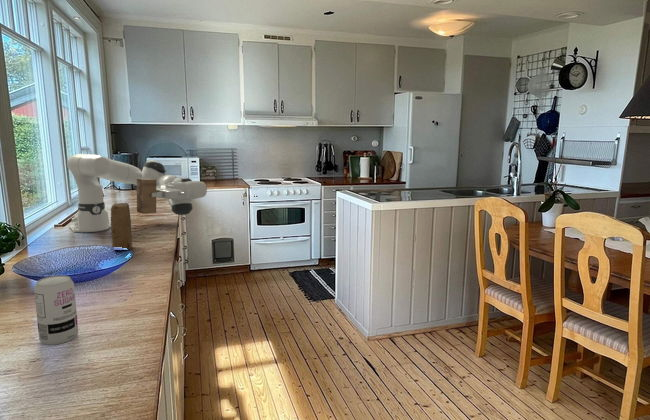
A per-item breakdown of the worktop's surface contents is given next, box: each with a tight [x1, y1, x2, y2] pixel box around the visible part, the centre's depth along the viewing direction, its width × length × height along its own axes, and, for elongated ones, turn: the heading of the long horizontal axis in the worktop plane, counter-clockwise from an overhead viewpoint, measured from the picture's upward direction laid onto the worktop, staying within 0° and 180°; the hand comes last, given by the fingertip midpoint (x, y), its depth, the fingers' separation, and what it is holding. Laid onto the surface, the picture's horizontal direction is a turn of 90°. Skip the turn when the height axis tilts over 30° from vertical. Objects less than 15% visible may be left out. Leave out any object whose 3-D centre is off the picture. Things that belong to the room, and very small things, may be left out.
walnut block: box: [136, 178, 157, 215], centre depth 188 cm, size 6×6×15 cm
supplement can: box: [33, 275, 79, 346], centre depth 103 cm, size 8×8×15 cm
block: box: [110, 202, 133, 250], centre depth 183 cm, size 11×8×20 cm
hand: (147, 193), depth 188 cm, fingers closed on walnut block, 6 cm apart
